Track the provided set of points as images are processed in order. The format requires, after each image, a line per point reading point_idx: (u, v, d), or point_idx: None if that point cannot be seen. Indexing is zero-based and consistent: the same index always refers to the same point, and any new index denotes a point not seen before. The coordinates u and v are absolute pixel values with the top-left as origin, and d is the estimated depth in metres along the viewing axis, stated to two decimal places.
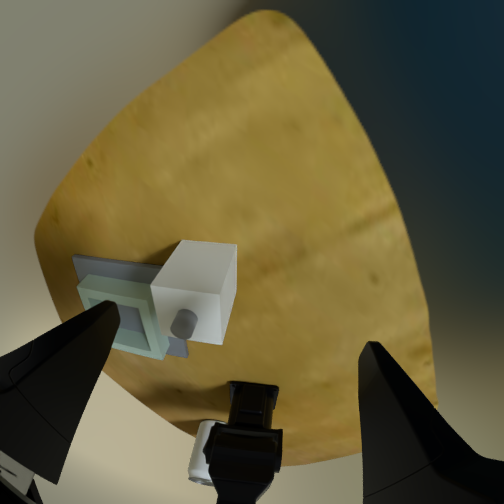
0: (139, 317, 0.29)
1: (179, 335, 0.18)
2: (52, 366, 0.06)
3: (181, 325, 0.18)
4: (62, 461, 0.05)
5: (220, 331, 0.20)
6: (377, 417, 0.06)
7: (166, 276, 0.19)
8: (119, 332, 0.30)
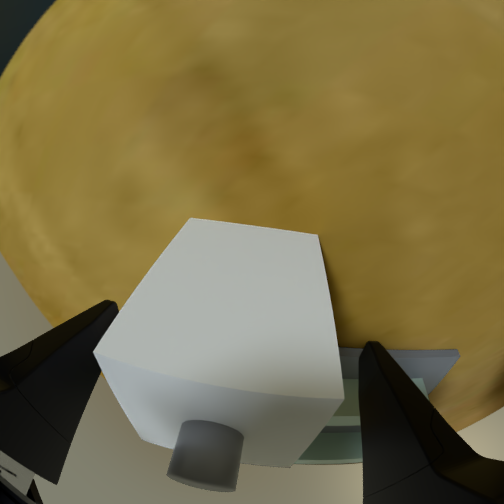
0: None
1: (219, 488, 0.05)
2: (52, 366, 0.06)
3: (174, 477, 0.04)
4: (62, 461, 0.05)
5: (264, 394, 0.05)
6: (377, 417, 0.06)
7: None
8: None
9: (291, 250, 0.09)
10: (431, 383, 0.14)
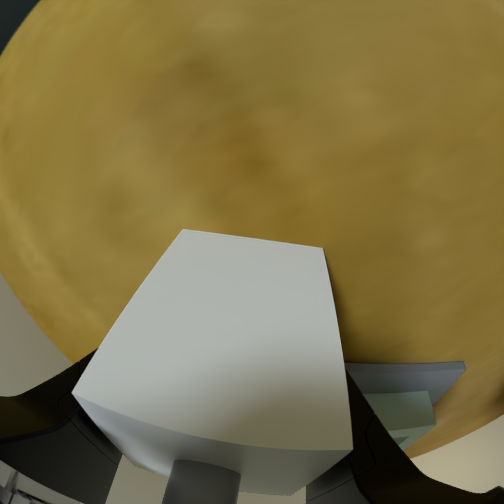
0: None
1: None
2: None
3: None
4: (108, 484, 0.05)
5: (263, 447, 0.04)
6: None
7: None
8: None
9: (294, 268, 0.08)
10: (436, 395, 0.13)
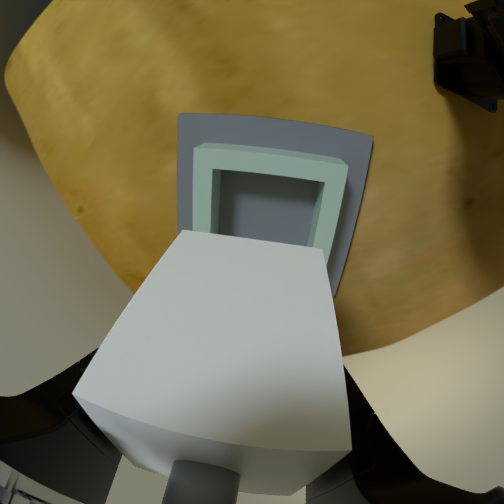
0: (277, 195, 0.19)
1: None
2: None
3: None
4: (107, 484, 0.05)
5: (262, 447, 0.04)
6: None
7: None
8: (308, 246, 0.19)
9: (293, 268, 0.08)
10: (356, 172, 0.17)
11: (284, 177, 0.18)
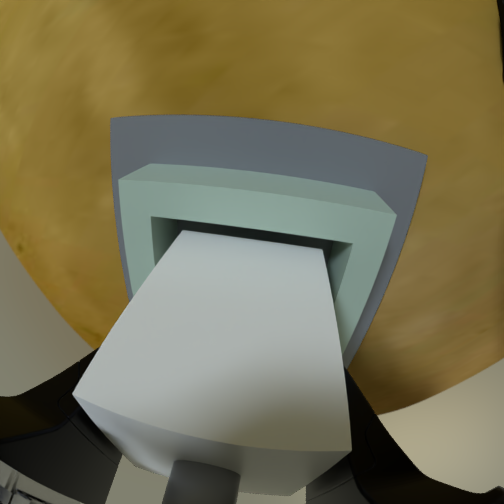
0: None
1: None
2: None
3: None
4: (108, 484, 0.05)
5: (262, 448, 0.04)
6: None
7: None
8: None
9: (293, 269, 0.08)
10: (397, 214, 0.10)
11: None
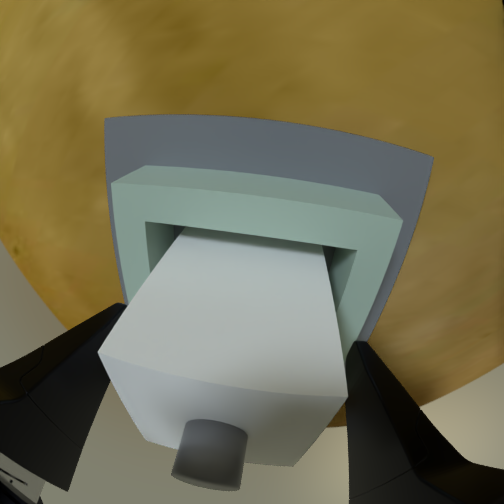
0: None
1: (224, 487, 0.05)
2: (64, 372, 0.06)
3: (178, 476, 0.04)
4: (73, 467, 0.05)
5: (269, 392, 0.05)
6: (362, 418, 0.06)
7: None
8: None
9: (293, 250, 0.09)
10: (402, 218, 0.10)
11: None
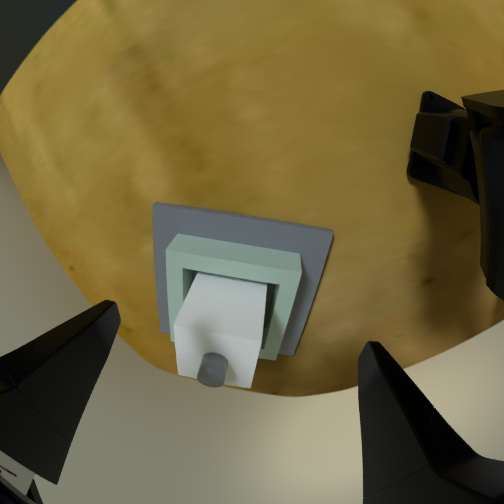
0: None
1: (217, 382, 0.15)
2: (52, 366, 0.06)
3: (200, 376, 0.15)
4: (62, 461, 0.05)
5: (234, 337, 0.15)
6: (377, 417, 0.06)
7: None
8: (268, 323, 0.22)
9: (252, 282, 0.19)
10: (314, 265, 0.20)
11: None
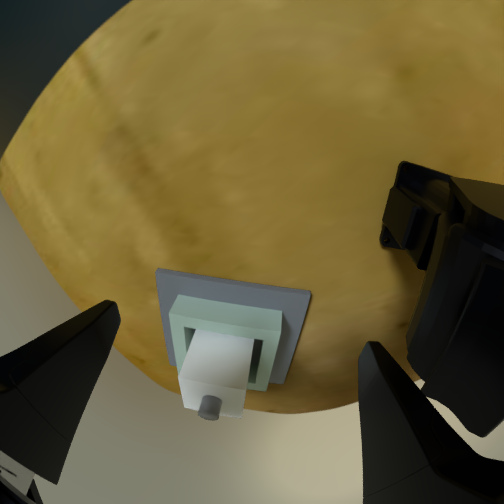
0: None
1: (213, 417, 0.18)
2: (52, 366, 0.06)
3: (200, 413, 0.18)
4: (62, 461, 0.05)
5: (225, 387, 0.18)
6: (377, 417, 0.06)
7: None
8: (258, 362, 0.25)
9: None
10: (295, 319, 0.23)
11: None
